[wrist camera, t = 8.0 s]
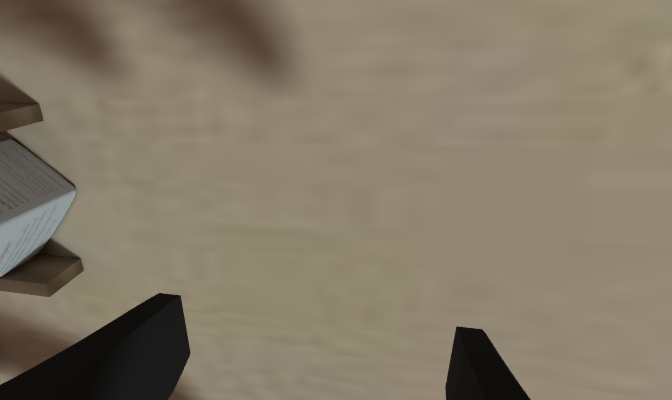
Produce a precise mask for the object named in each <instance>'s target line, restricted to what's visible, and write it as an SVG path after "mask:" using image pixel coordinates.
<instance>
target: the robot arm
mask: <svg viewBox="0 0 672 400" xmlns="http://www.w3.org/2000/svg"><path fill="white" fill-rule="evenodd" d="M189 356H190V348H189V342H188V336H187V330H186V325H185V319H184V313H183V307H182V301H181V296H180V295H171V294H162V293H159V294H157V295H155V296H153V297H151V298H150V299H148V300H146V301H145V302H143V303H141V304H140V305H138V306H136V307H135V308H133V309H131V310H130V311H128V312H126V313H125V314H123V315H122V316H120V317H118V318H117V319H115V320H114V321H112V322H110V323H109V324H107V325H105V326H104V327H102V328H100V329H99V330H97V331H95V332H94V333H92V334H91V335H89V336H87V337H86V338H84V339H82V340H81V341H79V342H77V343H76V344H74V345H72V346H70V347H69V348H67V349H65V350H63V351H62V352H60V353H58V354H56V355H55V356H53V357H51V358H49V359H47V360H46V361H44V362H42V363H40V364H39V365H37V366H35V367H33V368H32V369H30V370H28V371H26V372H24V373H22V374H20V375H19V376H17V377H15V378H13V379H11V380H9V381H7V382H5V383H3V384H1V385H0V400H168V399H169V397H170V396H171V394H172V392H173V390H174V388H175V386H176V384H177V382H178V380H179V378H180V376H181V374H182V372H183V369H184V367H185V365H186V363H187V360H188V358H189ZM446 400H531V399H530V398H529V397H528V395H527V394H526V393H525V391H524V390H523V389H522V387H521V386H520V384H519V383H518V381H517V380H516V379H515V377H514V376H513V374H512V373H511V371H510V370H509V368H508V367H507V365H506V364H505V362H504V361H503V359H502V358H501V356H500V355H499V353H498V352H497V350H496V349H495V347H494V346H493V344H492V342H491V341H490V339H489V338H488V336H487V335H486V333H485V332H484V331H483V330H482V329H474V328H465V327H456V332H455V337H454V343H453V348H452V354H451V359H450V365H449V370H448V376H447V382H446Z"/></svg>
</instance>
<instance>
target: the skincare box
mask: <svg viewBox="0 0 672 400" xmlns="http://www.w3.org/2000/svg"><path fill="white" fill-rule="evenodd" d="M75 195H76V189H75V188H74V187H73V186H72V185H71V184H70V183H69V182H67V181H66V180H65V179H64V178H63V177H62V176H60V175H59V174H58V173H57V172H56V171H54V170H53V169H52V168H50V167H49V166H48V165H47V164H45V163H44V162H43V161H41V160H40V159H39V158H38V157H36V156H35V155H34V154H32V153H31V152H29V151H28V150H27V149H25V148H24V147H23V146H21V145H20V144H18V143H17V142H15V141H13V140H11V139H8V140H3V141H0V277H1V276H3V275H4V274H6V273H7V272H9V271H11V270H13V269H14V268H16V267H18V266H19V265H21V264H23V263H24V262H26V261H28V260H29V259H31V258H32V257H34V256H35V255H36V254H37V253H39V252H40V250H41V249H42V248H43V247H44V245H45V244H46V242H47V241H48V240H49V238H50V237H51V235H52V234H53V233H54V231H55V229H56V228H57V226H58V225H59V223H60V222H61V220H62V218H63V217H64V215H65V213H66V212H67V210H68V208H69V206H70V205H71V203H72V201H73V199H74V198H75Z"/></svg>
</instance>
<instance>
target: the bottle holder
mask: <svg viewBox="0 0 672 400" xmlns="http://www.w3.org/2000/svg"><path fill="white" fill-rule="evenodd" d="M40 121H43V118H42V114H41V110H40V106H39V104H28V103H12V102H0V132H3V131H6V130H10V129H14V128H18V127H21V126H25V125H29V124H32V123H36V122H40ZM82 271H84V270H83V266H82V263H81V259H78V258H69V257H60V256H51V255H42V254H36V255H35V256H34V257H32V258H31V259H29V260H28V261H26V262H24V263H23V264H21V265H19V266H18V267H16V268H14V269H13V270H11V271H9V272H7V273H6V274H4V275H3V276H1V277H0V291H7V292H14V293H22V294H30V295H38V296H46V297H50V296H51V295H53V294H54V293H55V292H57V291H58V290H59V289H60V288H62V287H63V286H64V285H66V284H67V283H68V282H69V281H71V280H72V279H73V278H75V277H76V276H77V275H78V274H80V273H81V272H82Z"/></svg>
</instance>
